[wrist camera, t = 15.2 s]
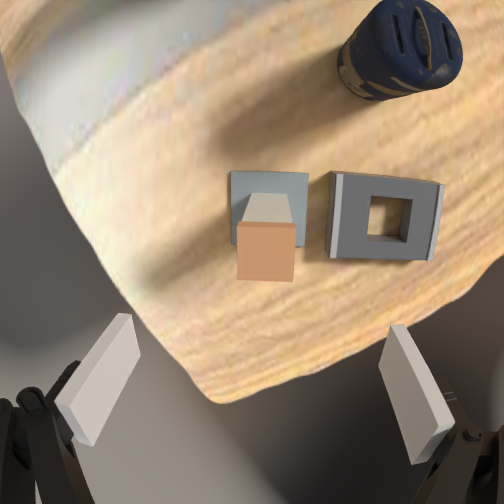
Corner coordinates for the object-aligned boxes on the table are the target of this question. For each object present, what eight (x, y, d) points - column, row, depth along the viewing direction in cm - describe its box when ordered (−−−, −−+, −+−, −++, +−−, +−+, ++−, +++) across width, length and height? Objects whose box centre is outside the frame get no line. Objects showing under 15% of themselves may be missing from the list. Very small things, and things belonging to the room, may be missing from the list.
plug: (250, 226, 42) (237, 279, 27) (250, 191, 40) (236, 226, 25) (286, 228, 42) (292, 281, 27) (287, 192, 40) (296, 228, 25)
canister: (403, 49, 32) (473, 12, 15) (397, 110, 35) (472, 102, 18) (337, 31, 32) (377, -29, 15) (330, 93, 35) (372, 65, 19)
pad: (232, 242, 44) (231, 244, 43) (231, 170, 40) (230, 171, 39) (303, 245, 43) (304, 246, 42) (308, 173, 39) (308, 173, 39)
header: (324, 249, 43) (328, 258, 40) (330, 170, 39) (335, 173, 36) (424, 252, 42) (433, 261, 39) (435, 181, 38) (446, 185, 35)
